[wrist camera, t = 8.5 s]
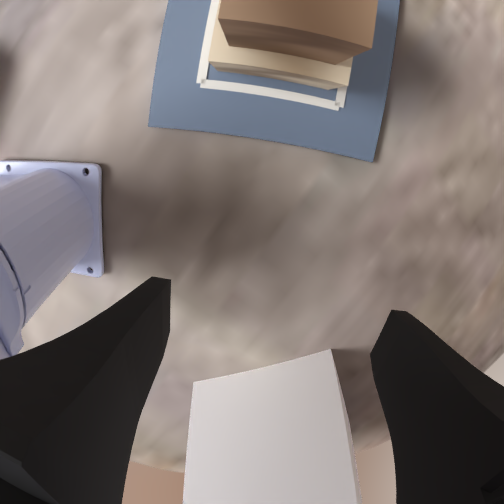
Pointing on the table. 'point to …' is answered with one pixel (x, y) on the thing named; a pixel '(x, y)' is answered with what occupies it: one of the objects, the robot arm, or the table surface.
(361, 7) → the walnut cube
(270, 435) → the milk
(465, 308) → the table surface
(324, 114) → the board
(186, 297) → the table surface
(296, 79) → the maple block
